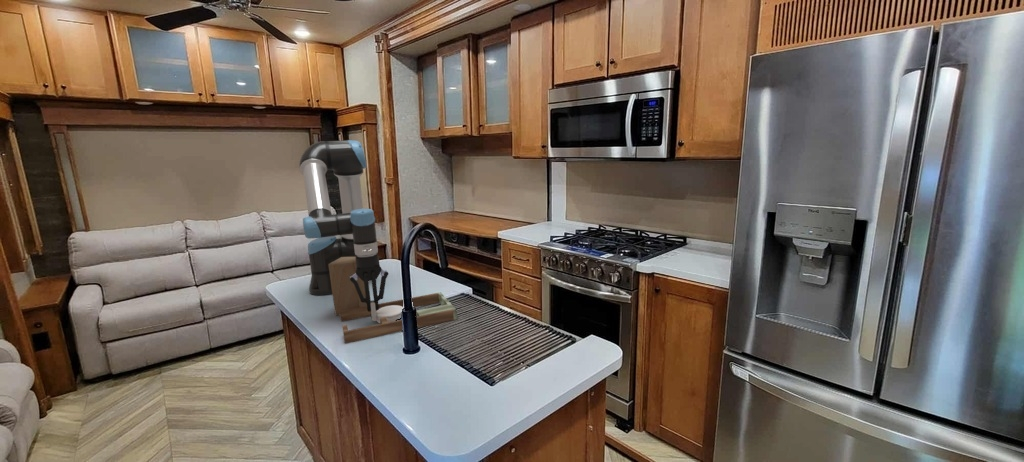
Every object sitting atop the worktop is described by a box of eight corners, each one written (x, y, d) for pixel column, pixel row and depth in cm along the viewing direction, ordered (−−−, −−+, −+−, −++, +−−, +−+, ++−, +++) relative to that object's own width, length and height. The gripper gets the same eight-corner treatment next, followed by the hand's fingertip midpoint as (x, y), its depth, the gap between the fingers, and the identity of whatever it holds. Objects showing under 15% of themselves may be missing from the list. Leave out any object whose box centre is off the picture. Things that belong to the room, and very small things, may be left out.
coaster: (406, 312, 158) (405, 303, 158) (403, 323, 149) (402, 313, 148) (378, 314, 157) (377, 306, 157) (374, 326, 148) (372, 316, 147)
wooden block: (371, 305, 167) (365, 256, 163) (360, 315, 157) (353, 263, 153) (347, 305, 168) (341, 256, 164) (334, 315, 158) (327, 263, 154)
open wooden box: (341, 320, 153) (339, 311, 153) (441, 300, 168) (440, 292, 168) (344, 343, 135) (343, 332, 134) (457, 319, 150) (456, 309, 149)
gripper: (347, 259, 139) (355, 327, 144) (388, 254, 144) (394, 319, 149) (345, 254, 146) (353, 319, 150) (384, 249, 151) (391, 312, 155)
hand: (374, 319), depth 150 cm, fingers closed
